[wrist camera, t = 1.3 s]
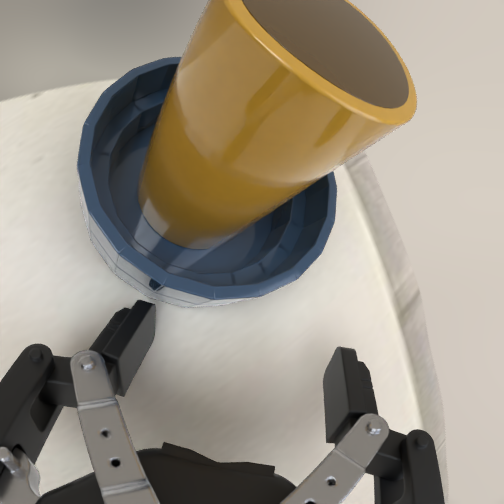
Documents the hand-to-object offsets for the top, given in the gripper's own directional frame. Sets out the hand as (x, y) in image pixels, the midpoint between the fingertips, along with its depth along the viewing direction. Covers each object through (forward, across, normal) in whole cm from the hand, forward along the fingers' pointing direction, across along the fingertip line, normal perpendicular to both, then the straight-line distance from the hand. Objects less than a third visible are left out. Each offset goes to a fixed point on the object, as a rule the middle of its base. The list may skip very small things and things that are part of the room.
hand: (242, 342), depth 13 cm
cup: (+5, +4, -4) cm, 8 cm away
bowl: (+5, +4, -4) cm, 8 cm away
